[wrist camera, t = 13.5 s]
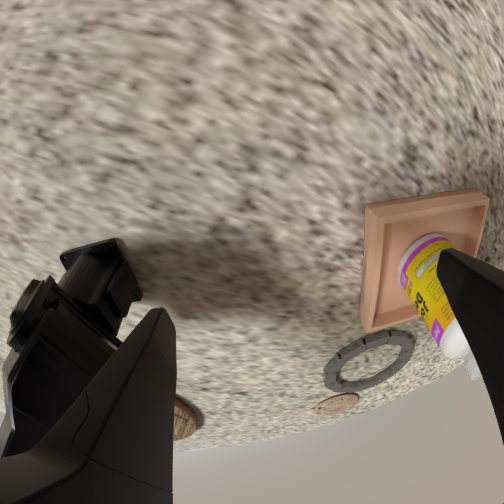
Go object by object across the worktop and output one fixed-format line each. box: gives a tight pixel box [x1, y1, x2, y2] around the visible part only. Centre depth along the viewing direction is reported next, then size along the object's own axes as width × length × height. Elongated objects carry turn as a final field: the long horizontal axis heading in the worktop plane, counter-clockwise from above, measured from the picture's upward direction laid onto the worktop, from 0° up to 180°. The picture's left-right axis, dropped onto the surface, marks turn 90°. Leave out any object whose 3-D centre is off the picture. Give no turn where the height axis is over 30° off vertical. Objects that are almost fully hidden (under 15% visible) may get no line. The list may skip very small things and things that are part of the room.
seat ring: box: [323, 330, 414, 392], centre depth 33 cm, size 13×13×1 cm
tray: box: [359, 188, 490, 333], centre depth 23 cm, size 13×13×2 cm
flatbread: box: [315, 394, 358, 416], centre depth 40 cm, size 8×8×1 cm
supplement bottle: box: [398, 233, 482, 381], centre depth 18 cm, size 7×7×13 cm
